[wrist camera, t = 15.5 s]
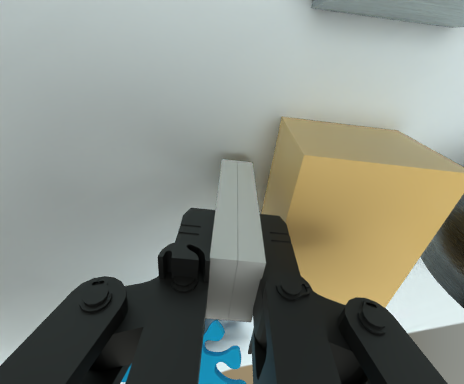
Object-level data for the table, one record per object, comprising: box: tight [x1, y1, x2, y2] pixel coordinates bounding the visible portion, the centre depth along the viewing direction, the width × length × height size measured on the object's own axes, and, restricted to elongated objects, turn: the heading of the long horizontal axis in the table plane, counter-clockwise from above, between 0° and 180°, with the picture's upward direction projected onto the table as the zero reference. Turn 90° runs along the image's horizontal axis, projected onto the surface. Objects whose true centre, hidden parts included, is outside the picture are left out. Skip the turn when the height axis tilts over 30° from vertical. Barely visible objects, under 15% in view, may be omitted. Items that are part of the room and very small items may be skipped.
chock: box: [261, 117, 464, 307], centre depth 13 cm, size 6×8×5 cm
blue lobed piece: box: [121, 320, 246, 384], centre depth 21 cm, size 11×6×10 cm
